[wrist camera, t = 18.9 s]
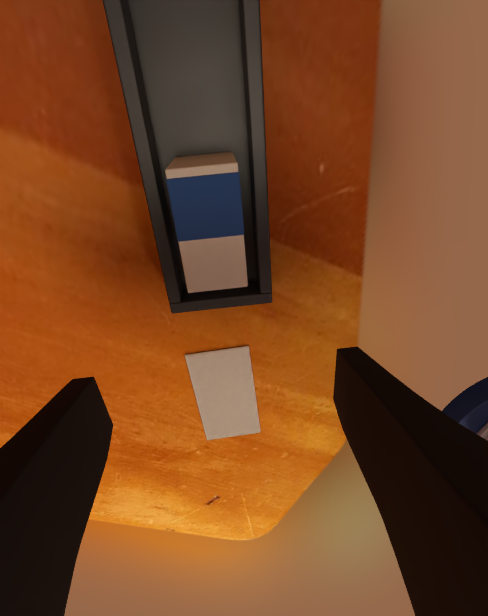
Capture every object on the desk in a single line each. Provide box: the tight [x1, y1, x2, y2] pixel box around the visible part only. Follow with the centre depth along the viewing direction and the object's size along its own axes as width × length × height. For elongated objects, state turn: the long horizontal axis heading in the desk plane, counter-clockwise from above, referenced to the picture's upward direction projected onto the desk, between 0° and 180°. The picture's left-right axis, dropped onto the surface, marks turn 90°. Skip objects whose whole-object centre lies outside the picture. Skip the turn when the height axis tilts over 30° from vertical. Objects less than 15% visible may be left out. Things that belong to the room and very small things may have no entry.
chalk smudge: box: [185, 346, 260, 440], centre depth 23 cm, size 8×4×1 cm, turn 7°
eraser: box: [165, 152, 248, 293], centre depth 15 cm, size 5×3×4 cm, turn 4°
